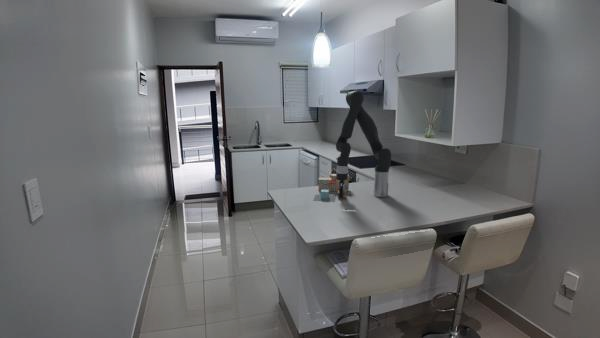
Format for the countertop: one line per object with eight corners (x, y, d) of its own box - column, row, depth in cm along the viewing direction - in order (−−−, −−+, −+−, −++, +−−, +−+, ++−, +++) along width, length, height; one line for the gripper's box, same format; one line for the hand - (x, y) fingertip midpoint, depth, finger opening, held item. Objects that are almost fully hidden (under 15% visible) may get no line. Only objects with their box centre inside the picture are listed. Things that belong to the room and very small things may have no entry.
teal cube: (328, 197, 218) (329, 189, 217) (328, 199, 213) (328, 191, 212) (321, 196, 218) (321, 189, 217) (320, 199, 214) (320, 191, 213)
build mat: (336, 196, 222) (336, 195, 221) (334, 203, 208) (334, 201, 208) (315, 195, 224) (315, 194, 223) (313, 202, 210) (313, 200, 210)
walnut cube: (345, 198, 219) (345, 190, 218) (345, 200, 214) (345, 193, 213) (338, 197, 220) (338, 190, 219) (337, 200, 215) (337, 192, 214)
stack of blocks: (318, 192, 233) (318, 175, 231) (318, 189, 239) (318, 173, 237) (348, 192, 231) (349, 176, 229) (348, 190, 237) (348, 173, 235)
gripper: (347, 174, 206) (346, 199, 209) (348, 170, 220) (347, 193, 223) (335, 174, 207) (334, 198, 210) (336, 169, 221) (336, 192, 224)
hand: (341, 196), depth 217 cm, fingers open, 8 cm apart
